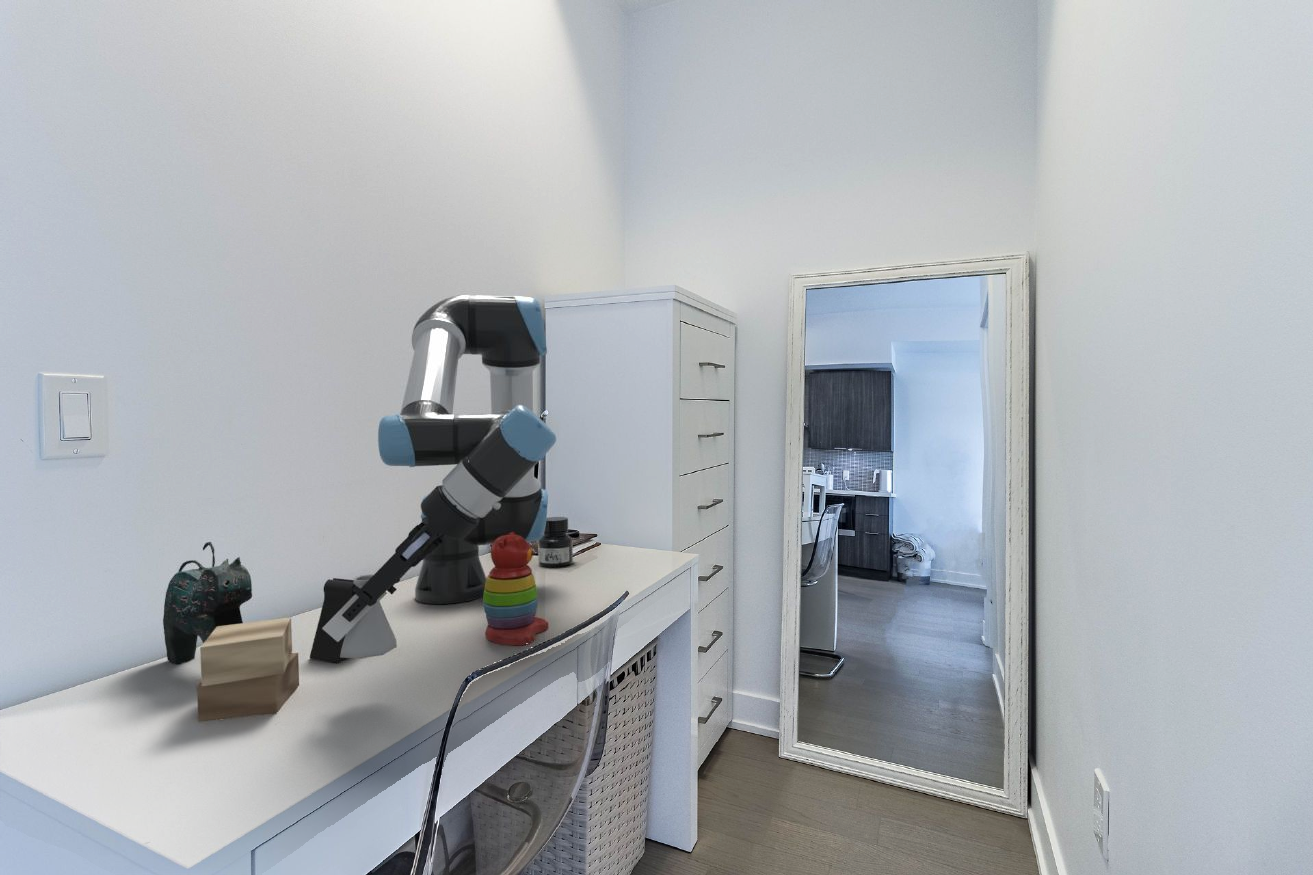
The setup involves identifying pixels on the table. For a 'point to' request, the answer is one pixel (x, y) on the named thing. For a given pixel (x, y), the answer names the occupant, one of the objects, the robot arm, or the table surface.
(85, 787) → the table surface
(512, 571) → the stacking bear
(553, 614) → the table surface
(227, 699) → the block lower
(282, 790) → the table surface
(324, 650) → the phone stand
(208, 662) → the block upper
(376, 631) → the flask
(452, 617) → the table surface
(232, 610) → the ceramic cat
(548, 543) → the ink bottle
